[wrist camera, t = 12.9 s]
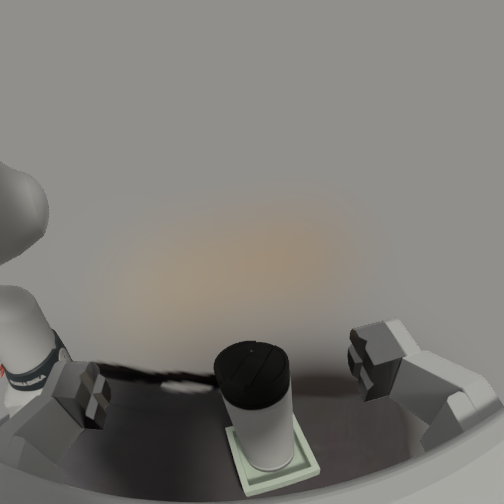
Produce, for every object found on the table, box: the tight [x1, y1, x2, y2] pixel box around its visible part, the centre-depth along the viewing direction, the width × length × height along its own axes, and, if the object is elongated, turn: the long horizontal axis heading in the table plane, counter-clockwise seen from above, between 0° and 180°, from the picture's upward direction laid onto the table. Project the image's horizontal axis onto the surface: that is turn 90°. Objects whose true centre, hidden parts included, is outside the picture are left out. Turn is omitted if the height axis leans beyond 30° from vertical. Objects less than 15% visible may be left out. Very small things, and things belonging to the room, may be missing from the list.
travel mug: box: [214, 341, 294, 473], centre depth 27 cm, size 6×7×20 cm
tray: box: [225, 414, 320, 497], centre depth 31 cm, size 9×10×2 cm
